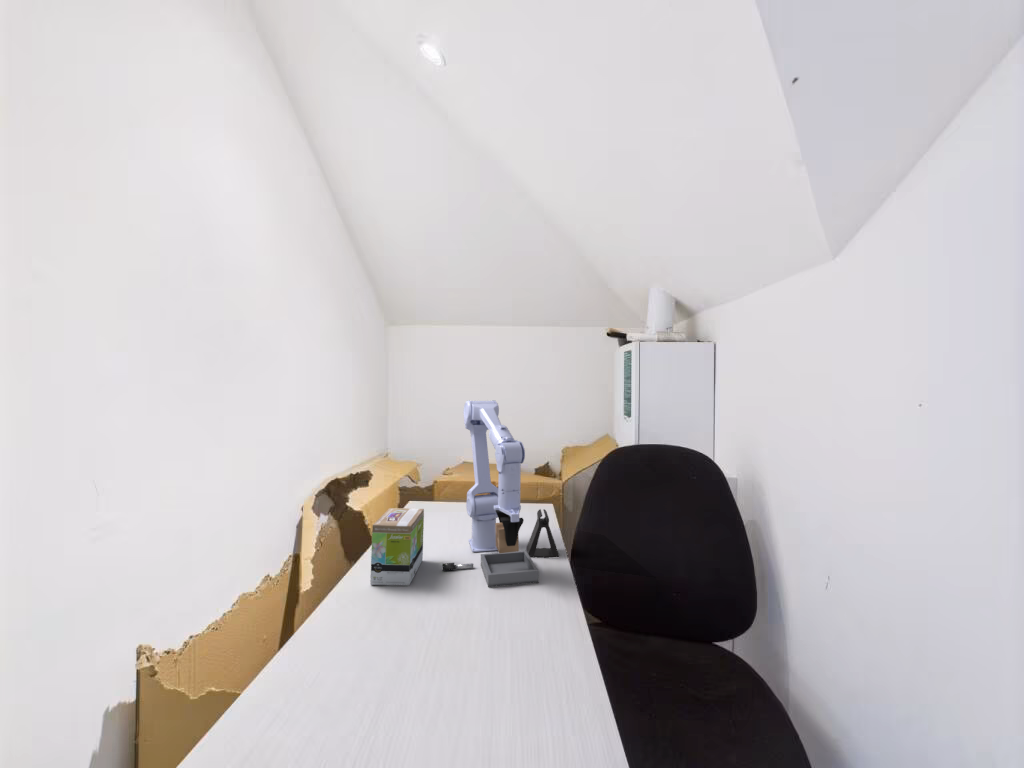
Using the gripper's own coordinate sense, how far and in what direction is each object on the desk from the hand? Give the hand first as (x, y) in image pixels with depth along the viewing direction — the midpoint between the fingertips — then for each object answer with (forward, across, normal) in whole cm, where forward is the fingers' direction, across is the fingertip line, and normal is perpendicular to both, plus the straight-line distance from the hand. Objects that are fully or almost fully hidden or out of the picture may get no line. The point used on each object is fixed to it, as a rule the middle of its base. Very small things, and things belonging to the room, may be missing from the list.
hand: (508, 541), depth 109 cm
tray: (+8, 0, 0) cm, 8 cm away
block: (+2, 0, 0) cm, 2 cm away
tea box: (+9, -6, -28) cm, 30 cm away
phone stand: (+9, -11, +12) cm, 19 cm away
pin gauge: (+8, -5, -13) cm, 16 cm away
